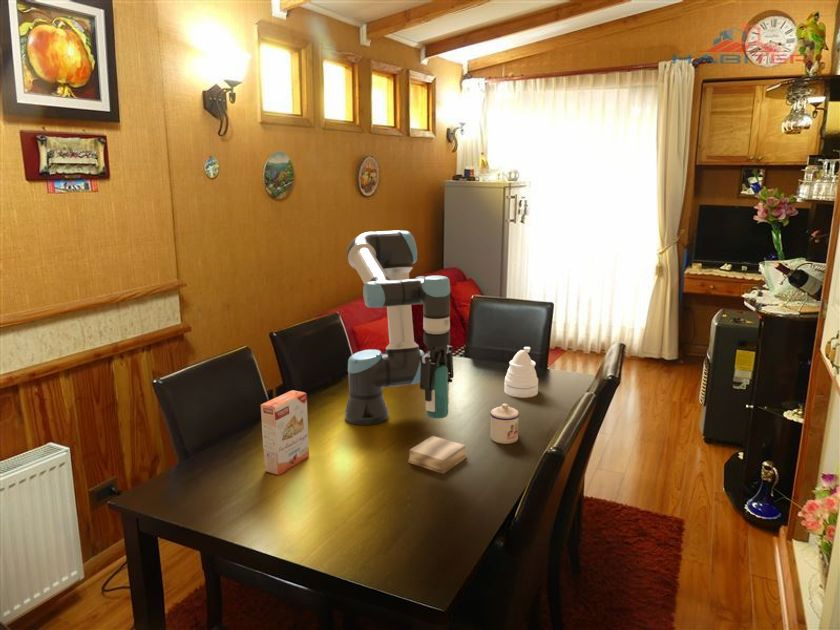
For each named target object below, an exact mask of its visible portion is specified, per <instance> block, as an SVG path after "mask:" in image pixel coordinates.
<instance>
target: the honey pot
mask: <svg viewBox="0 0 840 630" xmlns="http://www.w3.org/2000/svg"><path fill="white" fill-rule="evenodd" d="M530 351H531V347H530V346H524V347H523V349H520V350H519V351H517V352H516V353H515V354H514V356H513V358H512V359H511V360H510V361H509V362H508V363H509V367H508V369H507V372H506V375H505V377H504V390H503V391H504V393H505V394H506V395H508V396H510V397H513V398H514V397H515V398H523V399H524V398H525V399H526V398H533V397H535V396H537V395H538V393H539V377H537V371H536V369H535V366H536V361H534V360H532V358H531V357H530V355H529V354H528V353H530Z"/></svg>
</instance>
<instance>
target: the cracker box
mask: <svg viewBox="0 0 840 630" xmlns="http://www.w3.org/2000/svg"><path fill="white" fill-rule="evenodd" d="M307 398H308V394H307V393H306V392H304V391H300V390H299V391H297V390H294V389H292V390H290V391H287V392H285V393H283V394H281V395H279V396H277V397H273V398H272V399H270V400H268V401H266V402H263V403H261V404H260V414H261V415H260V417H261V433H262V451H263V463H264V464H263V465H264V472H267V473H270V474H273V475H275V476H281V475H282V474H283V473H285V472H287V471H288V470H290V469H292V468H294V467H295V466H297V464H300V463H301V462H303V461H304V460H306V459H307V458H309V457H310V447H309V444H310V443H309V425H308V424H309V423H308V422H309V420H308V399H307Z"/></svg>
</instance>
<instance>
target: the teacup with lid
mask: <svg viewBox="0 0 840 630" xmlns="http://www.w3.org/2000/svg"><path fill="white" fill-rule="evenodd" d="M519 417H520V412H519V410H517V409H516V408H514V407H511V406H509V404H507V403H502V404H501V405H500V406H497V407H495V408H492V410H490V439H491V441H493V442H494V443H498V444H503V445H507V444H509V445H510V444H513V443H516V442H517V441H518V438H519Z"/></svg>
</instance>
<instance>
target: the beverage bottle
mask: <svg viewBox="0 0 840 630" xmlns="http://www.w3.org/2000/svg"><path fill="white" fill-rule="evenodd" d="M443 362H444V356H443V355H441V358H440V360H439V363H443ZM433 390H435V412H431V411H427V410H426V415H427V416H428V417H429V418H432V419H443V418H446V417H448V415H449V404H450V403H448V401H449V402H450V399H449V398H448V369H447V367H446V366H444V365H443V364H439V366H438V367H437V369H436V371H435V380H434V385H433Z"/></svg>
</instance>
